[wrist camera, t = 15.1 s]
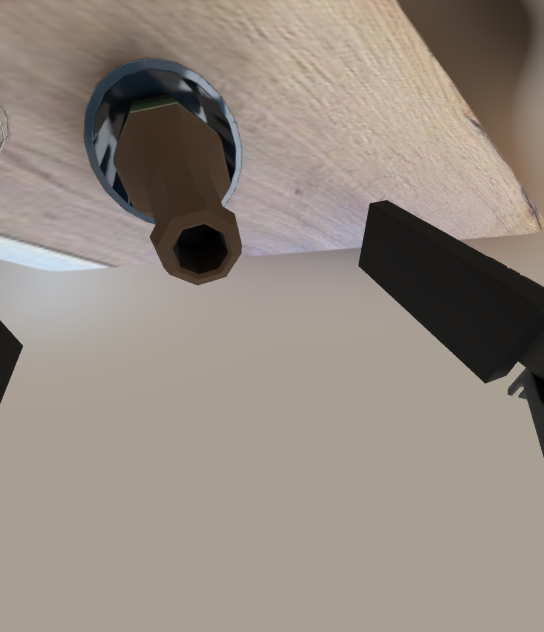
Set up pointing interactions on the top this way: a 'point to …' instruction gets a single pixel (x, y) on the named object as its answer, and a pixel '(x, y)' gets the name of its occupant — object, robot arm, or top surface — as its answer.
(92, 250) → the top surface
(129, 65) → the metal cup
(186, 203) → the beer bottle
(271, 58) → the top surface
